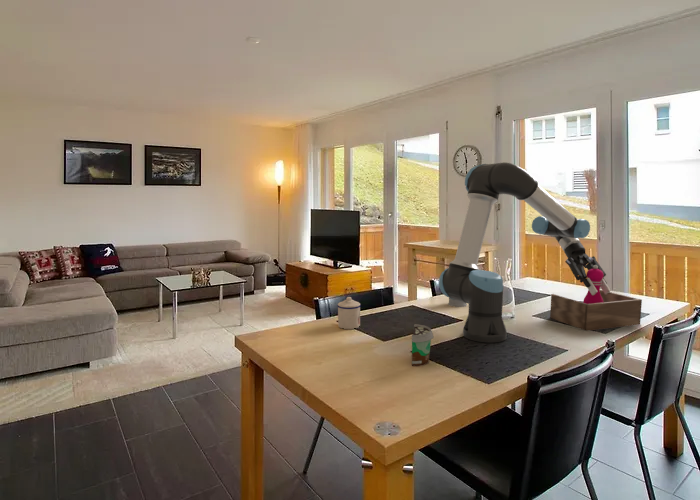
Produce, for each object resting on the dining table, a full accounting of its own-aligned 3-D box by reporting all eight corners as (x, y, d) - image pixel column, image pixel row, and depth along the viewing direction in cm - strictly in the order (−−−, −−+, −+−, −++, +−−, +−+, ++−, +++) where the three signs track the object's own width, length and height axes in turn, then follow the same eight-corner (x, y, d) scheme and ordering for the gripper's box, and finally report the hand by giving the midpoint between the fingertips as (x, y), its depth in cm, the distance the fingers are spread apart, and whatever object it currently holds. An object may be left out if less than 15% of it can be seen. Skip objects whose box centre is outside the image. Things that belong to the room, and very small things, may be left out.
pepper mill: (603, 312, 180) (606, 264, 178) (602, 317, 174) (605, 266, 172) (583, 310, 184) (586, 262, 181) (581, 314, 178) (584, 265, 175)
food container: (432, 369, 131) (432, 336, 129) (411, 368, 132) (411, 335, 131) (433, 354, 143) (433, 324, 141) (413, 353, 144) (414, 323, 143)
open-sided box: (550, 317, 184) (551, 294, 183) (600, 312, 191) (601, 289, 190) (586, 330, 166) (587, 304, 165) (640, 324, 173) (641, 299, 172)
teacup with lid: (364, 328, 172) (363, 299, 170) (341, 330, 169) (341, 301, 168) (353, 320, 183) (353, 292, 182) (332, 322, 180) (332, 294, 179)
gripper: (585, 251, 193) (614, 296, 180) (549, 253, 188) (576, 299, 175) (595, 240, 188) (626, 286, 174) (558, 242, 183) (587, 289, 169)
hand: (601, 292), depth 174 cm, fingers closed on pepper mill, 6 cm apart
